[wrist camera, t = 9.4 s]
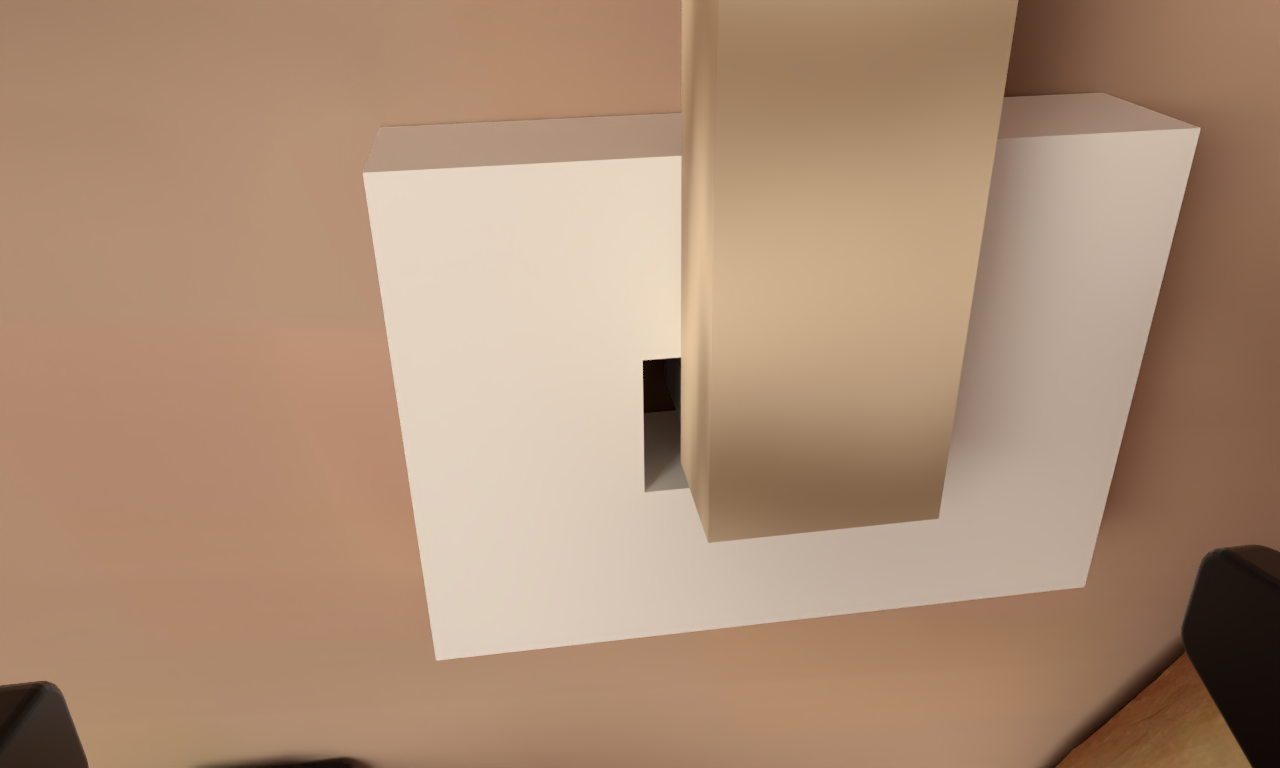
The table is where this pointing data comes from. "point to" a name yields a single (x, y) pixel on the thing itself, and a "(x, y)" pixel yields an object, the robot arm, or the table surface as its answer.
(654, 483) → the white slotted block
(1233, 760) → the bread roll
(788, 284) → the tan elongated block
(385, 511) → the table surface
